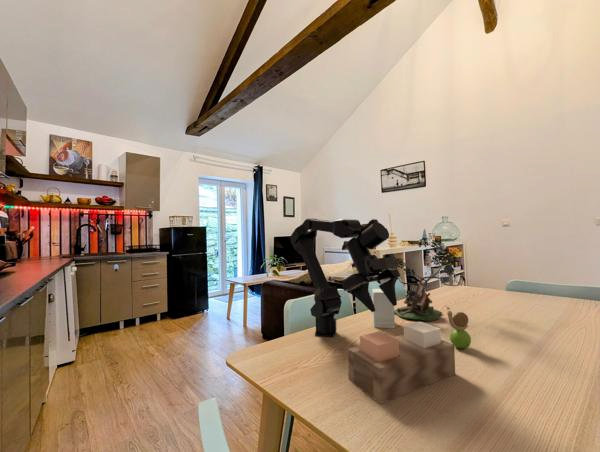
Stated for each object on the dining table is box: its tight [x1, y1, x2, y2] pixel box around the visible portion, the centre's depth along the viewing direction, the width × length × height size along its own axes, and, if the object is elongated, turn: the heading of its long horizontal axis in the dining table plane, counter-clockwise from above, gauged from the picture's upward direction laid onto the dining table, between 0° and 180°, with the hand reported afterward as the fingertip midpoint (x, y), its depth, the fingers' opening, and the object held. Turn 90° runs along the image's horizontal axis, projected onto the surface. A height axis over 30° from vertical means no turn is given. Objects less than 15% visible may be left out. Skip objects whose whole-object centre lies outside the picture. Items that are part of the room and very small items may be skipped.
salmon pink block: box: [359, 330, 399, 363], centre depth 62 cm, size 6×6×7 cm
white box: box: [403, 321, 442, 349], centre depth 69 cm, size 6×6×7 cm
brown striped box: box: [347, 334, 456, 404], centre depth 66 cm, size 24×11×7 cm, turn 117°
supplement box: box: [371, 288, 396, 329], centre depth 102 cm, size 7×7×13 cm
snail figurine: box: [446, 306, 472, 349], centre depth 81 cm, size 5×6×12 cm
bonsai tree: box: [394, 237, 460, 322], centre depth 112 cm, size 35×24×32 cm
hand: (385, 308), depth 74 cm, fingers open, 9 cm apart
